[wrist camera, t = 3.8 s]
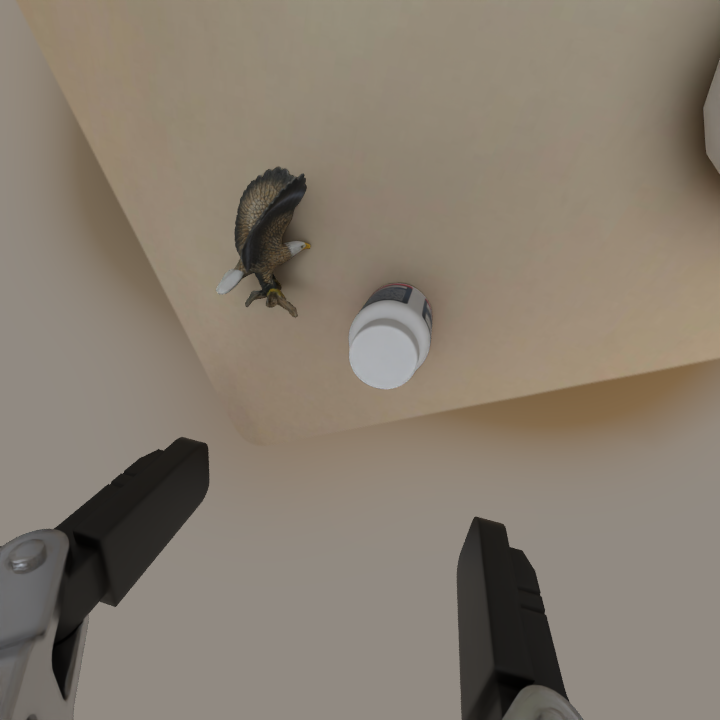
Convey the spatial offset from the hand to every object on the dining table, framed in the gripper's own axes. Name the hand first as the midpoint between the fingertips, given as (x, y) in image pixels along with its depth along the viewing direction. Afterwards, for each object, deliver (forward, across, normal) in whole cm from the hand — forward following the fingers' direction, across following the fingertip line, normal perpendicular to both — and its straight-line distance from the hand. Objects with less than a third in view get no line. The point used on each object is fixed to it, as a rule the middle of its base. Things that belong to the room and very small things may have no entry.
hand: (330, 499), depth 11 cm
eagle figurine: (+20, +10, -4) cm, 23 cm away
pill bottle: (+20, 0, 0) cm, 20 cm away
